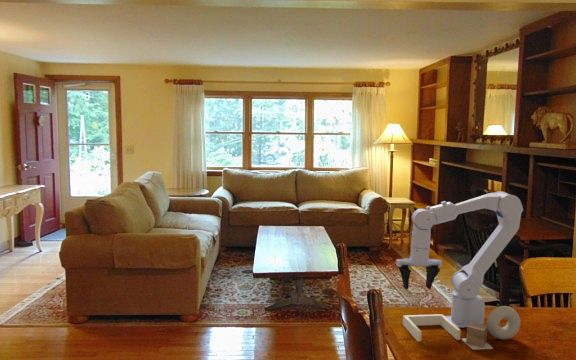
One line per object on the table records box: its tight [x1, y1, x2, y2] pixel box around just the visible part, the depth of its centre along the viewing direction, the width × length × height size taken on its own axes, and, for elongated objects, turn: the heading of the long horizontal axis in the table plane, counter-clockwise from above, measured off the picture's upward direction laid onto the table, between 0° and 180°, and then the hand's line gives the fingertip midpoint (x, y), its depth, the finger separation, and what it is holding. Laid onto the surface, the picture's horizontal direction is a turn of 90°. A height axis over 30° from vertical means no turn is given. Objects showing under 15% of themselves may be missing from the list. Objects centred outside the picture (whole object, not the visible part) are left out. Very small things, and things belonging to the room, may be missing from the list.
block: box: [465, 321, 488, 348], centre depth 129 cm, size 4×4×5 cm
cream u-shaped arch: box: [402, 313, 462, 343], centre depth 136 cm, size 13×12×3 cm
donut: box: [486, 305, 521, 341], centre depth 132 cm, size 10×4×10 cm, turn 97°
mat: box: [461, 337, 494, 350], centre depth 129 cm, size 6×6×1 cm
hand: (417, 288), depth 144 cm, fingers open, 7 cm apart
